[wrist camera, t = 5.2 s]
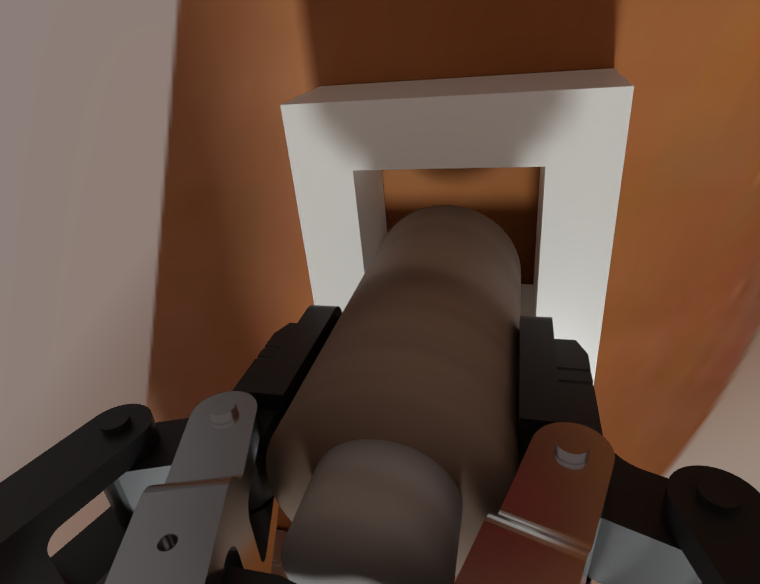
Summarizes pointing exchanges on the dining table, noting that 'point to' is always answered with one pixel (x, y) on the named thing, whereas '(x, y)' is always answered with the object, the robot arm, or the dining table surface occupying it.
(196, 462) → the robot arm
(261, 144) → the dining table surface
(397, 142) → the holder
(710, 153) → the dining table surface
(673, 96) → the dining table surface
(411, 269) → the pepper mill
